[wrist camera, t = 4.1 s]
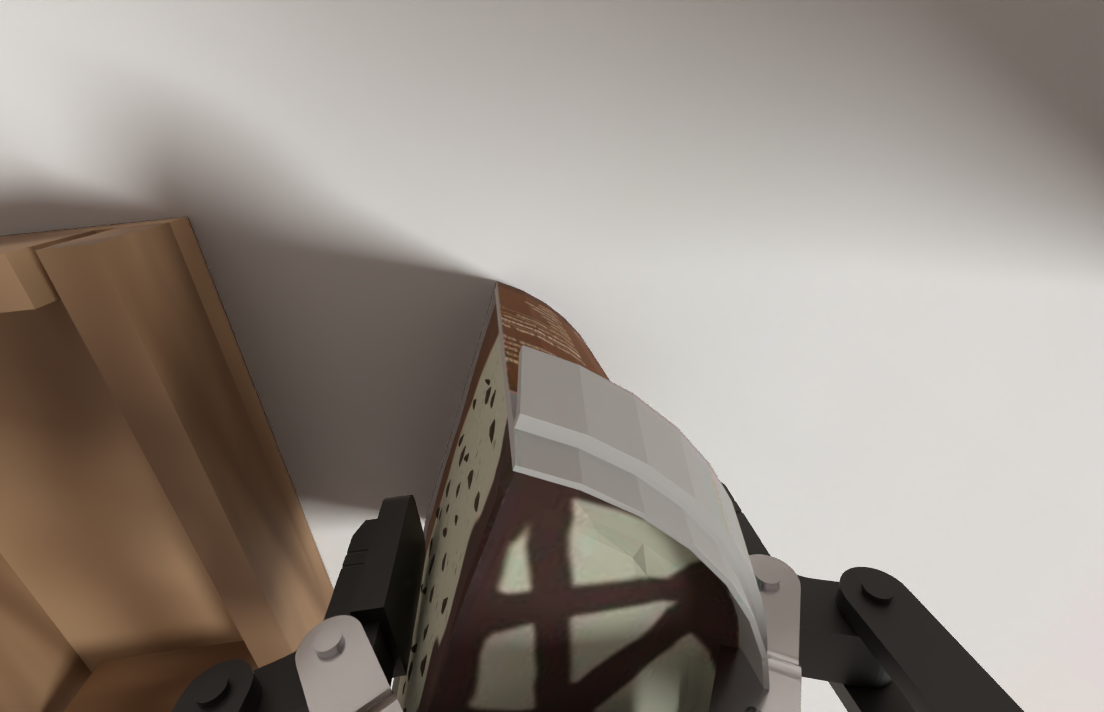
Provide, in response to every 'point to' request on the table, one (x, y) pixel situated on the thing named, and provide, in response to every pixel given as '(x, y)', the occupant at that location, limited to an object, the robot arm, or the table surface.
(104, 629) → the holder
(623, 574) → the food container
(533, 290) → the table surface
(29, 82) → the table surface
